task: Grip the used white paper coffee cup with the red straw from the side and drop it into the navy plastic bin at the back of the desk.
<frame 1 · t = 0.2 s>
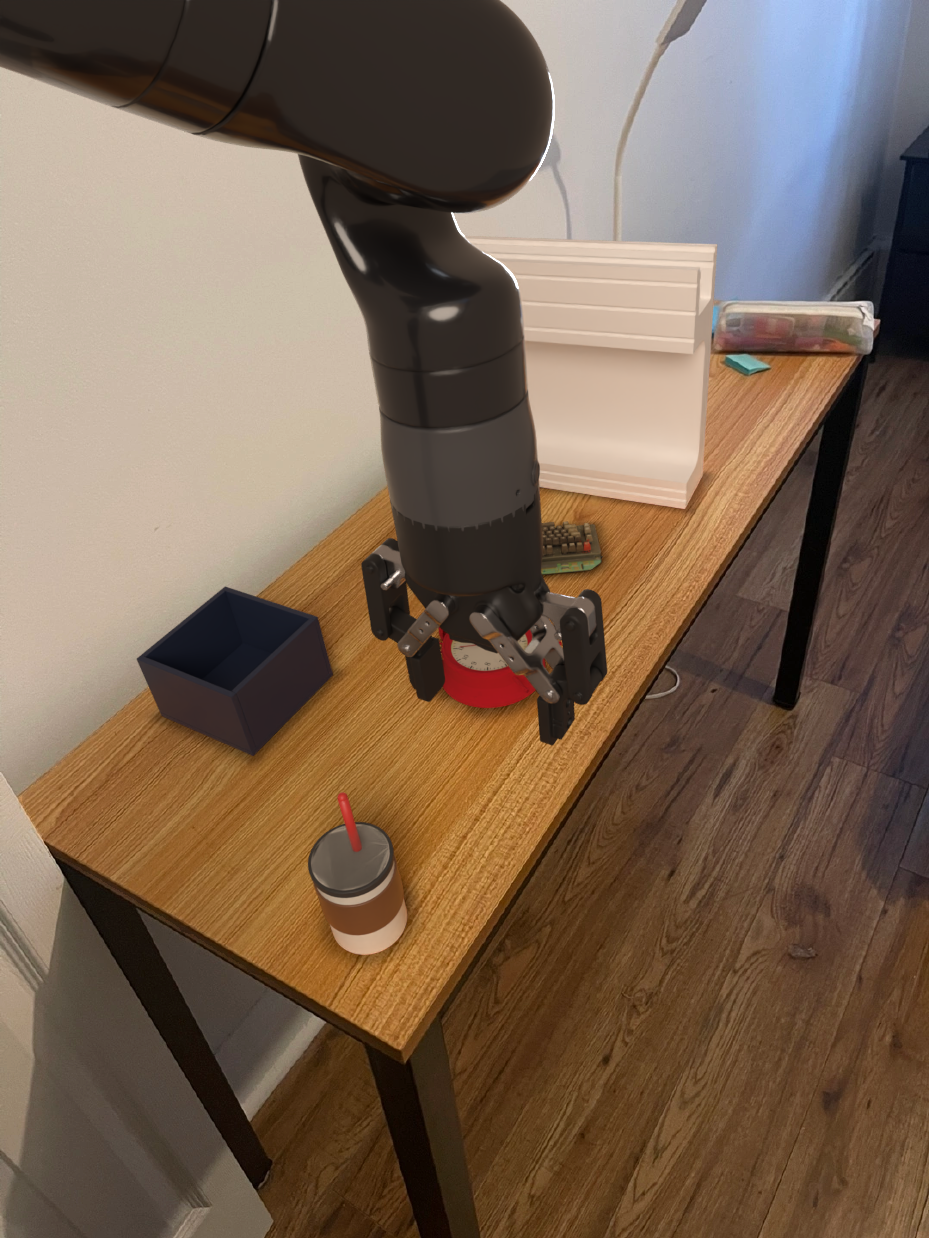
hand: (491, 712, 55), 21 cm above the table, tool pointing down, fingers open, 8 cm apart
paper cup: (369, 920, 69), on the table
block: (559, 474, 118), on the table
bin: (248, 695, 91), on the table
keyboard: (505, 557, 105), on the table
alarm clock: (477, 670, 90), on the table
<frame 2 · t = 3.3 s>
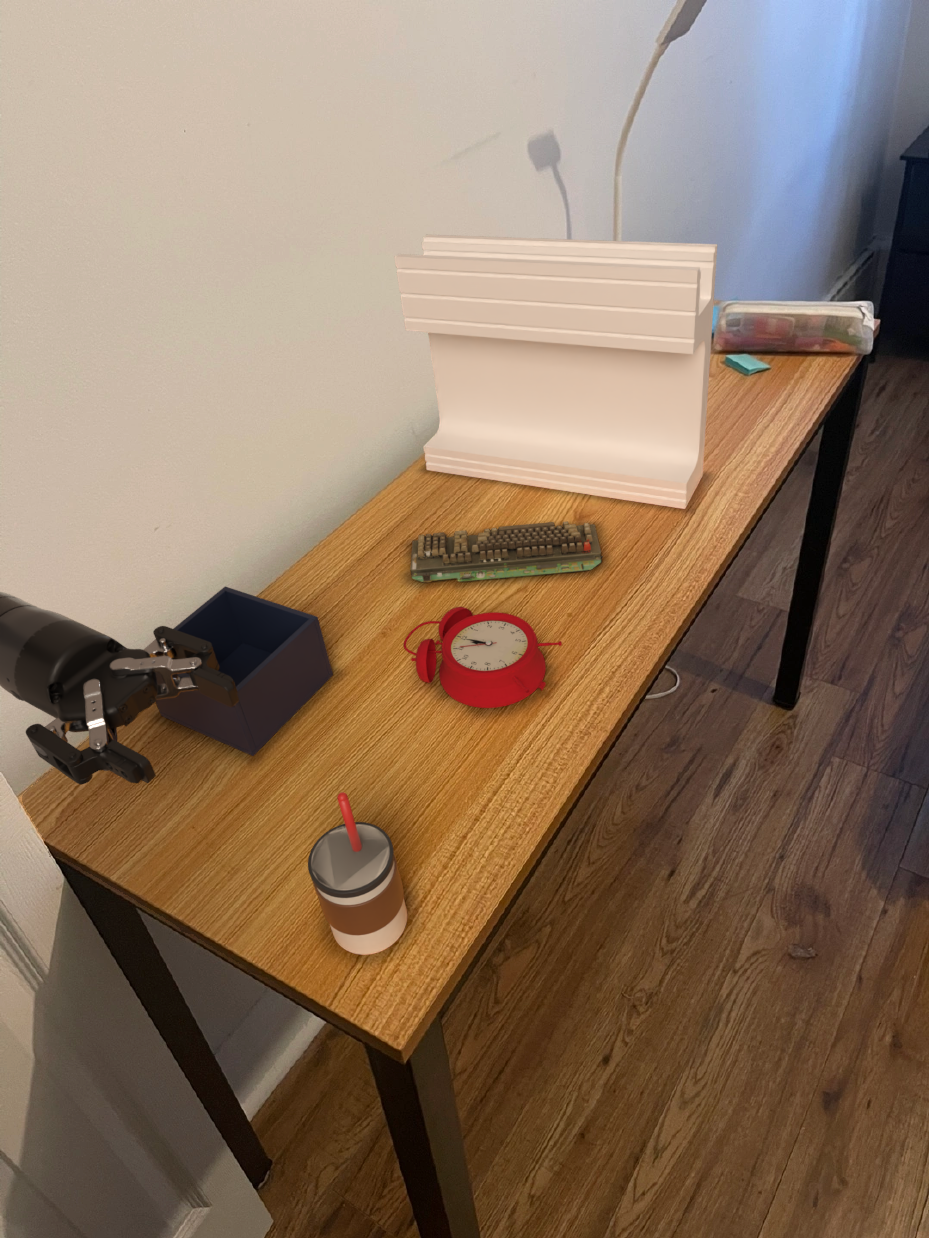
hand: (193, 732, 67), 14 cm above the table, tool horizontal, fingers open, 8 cm apart
nothing on the table moved.
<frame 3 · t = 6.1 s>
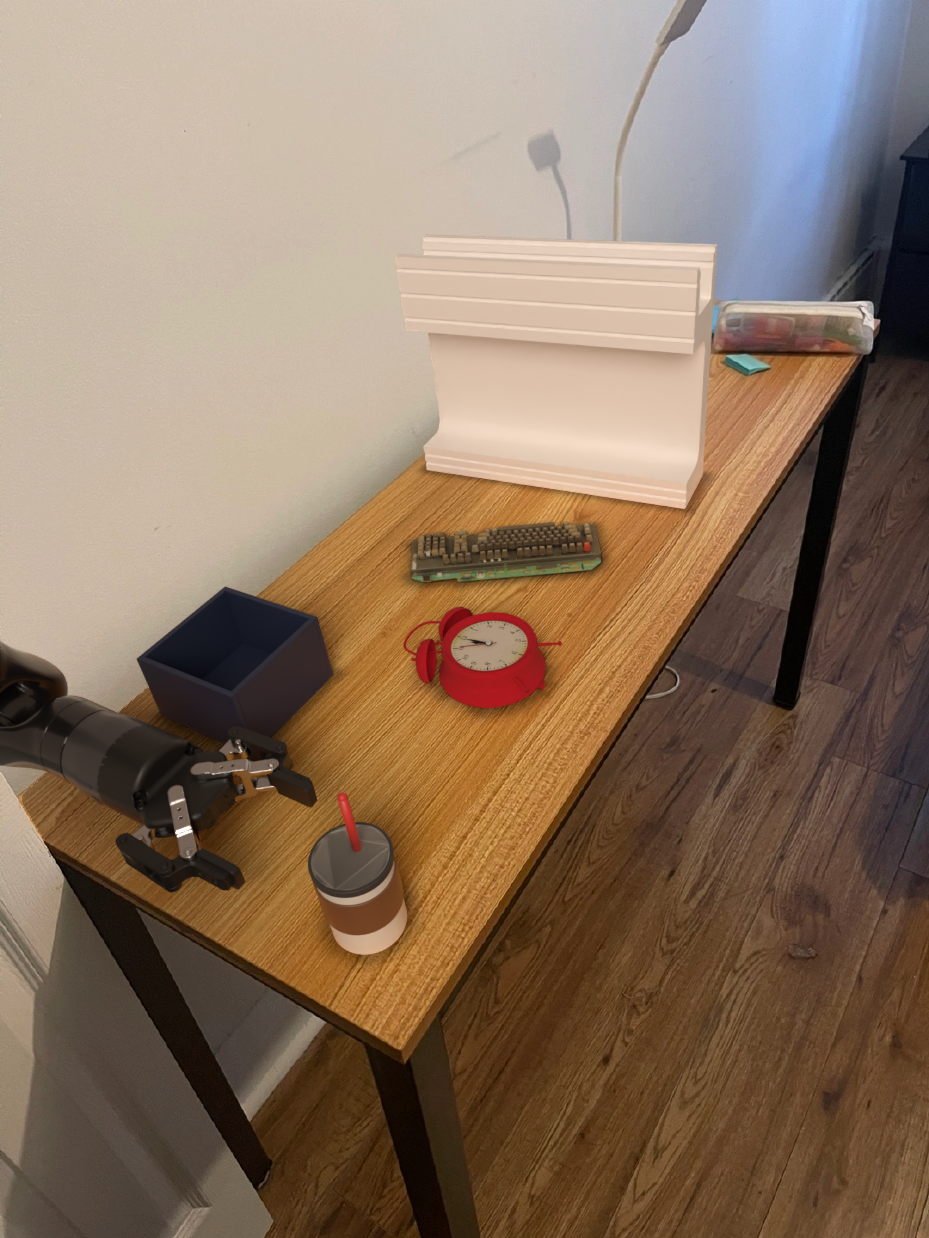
hand: (278, 836, 69), 6 cm above the table, tool horizontal, fingers open, 8 cm apart
nothing on the table moved.
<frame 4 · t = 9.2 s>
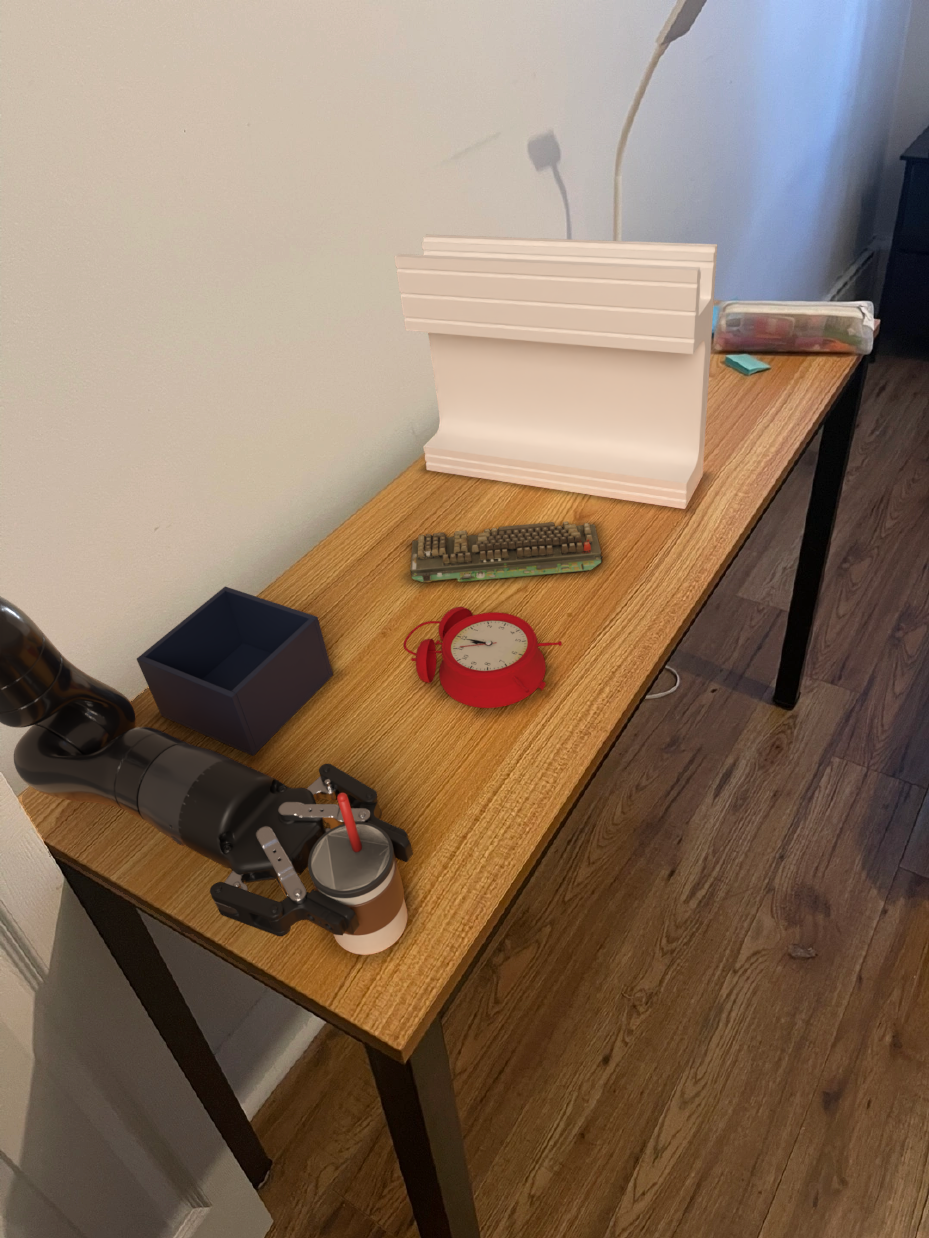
hand: (382, 885, 65), 6 cm above the table, tool horizontal, fingers closed on paper cup, 6 cm apart
paper cup: (370, 920, 69), on the table, touching gripper
everything else where it was.
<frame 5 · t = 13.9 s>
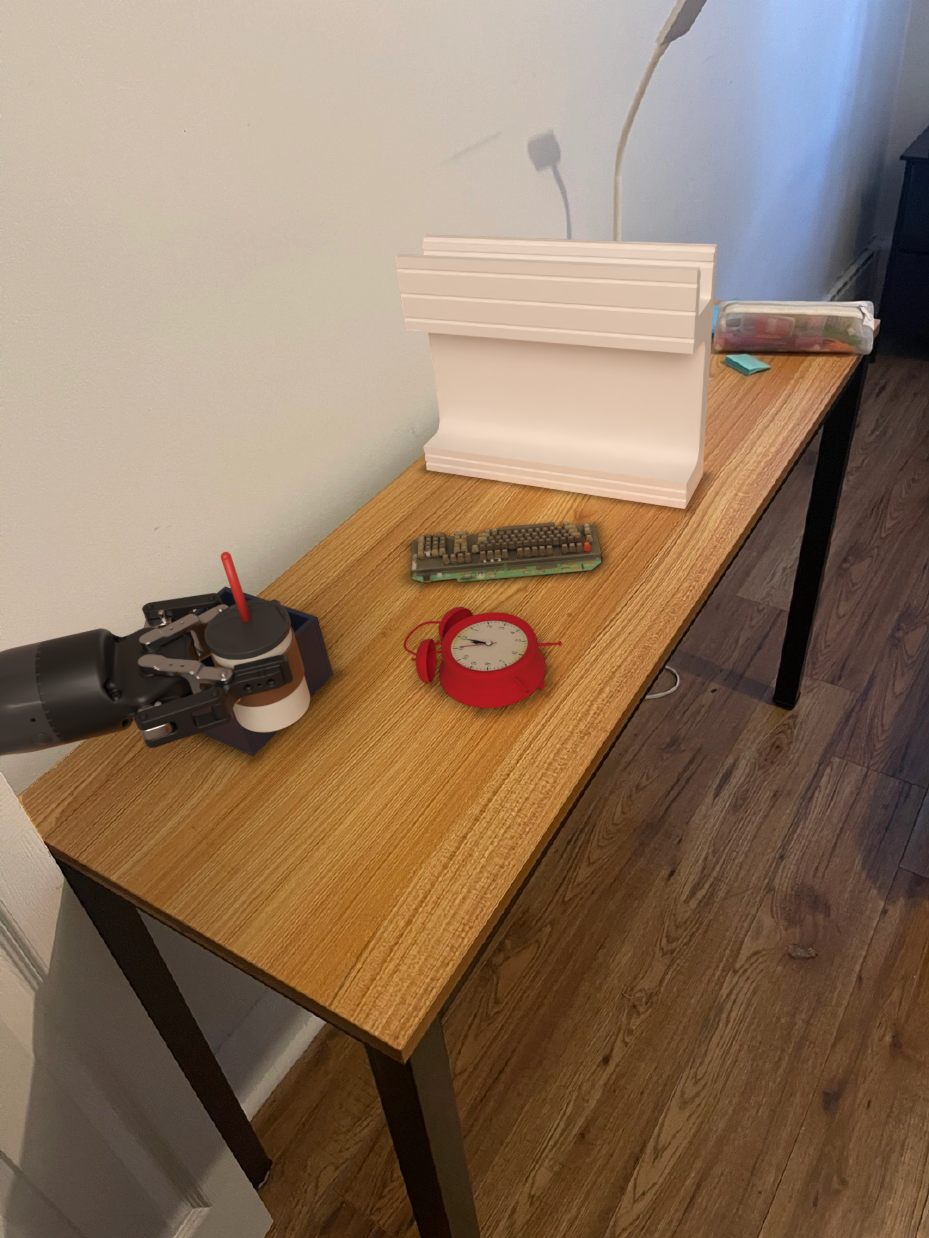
hand: (285, 639, 67), 19 cm above the table, tool horizontal, fingers closed on paper cup, 6 cm apart
paper cup: (273, 705, 70), point 13 cm above the table, touching gripper
everything else where it was.
when the fingers open (13 cm above the table, at t = 18.8 s): paper cup drops 6 cm, resting on bin.
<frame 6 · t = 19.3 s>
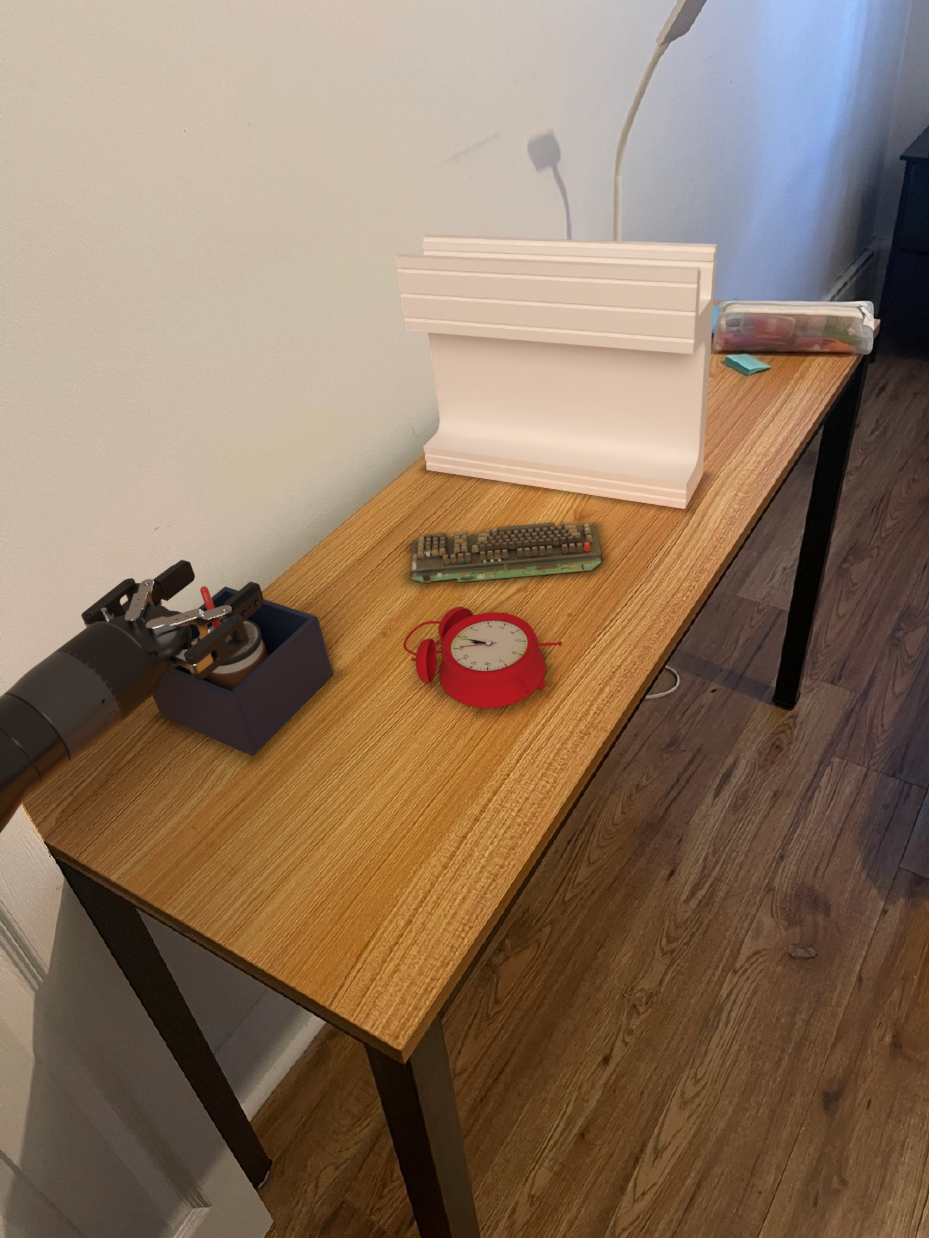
hand: (223, 579, 82), 14 cm above the table, tool horizontal, fingers open, 8 cm apart
paper cup: (249, 701, 89), point 1 cm above the table, touching bin
everything else where it was.
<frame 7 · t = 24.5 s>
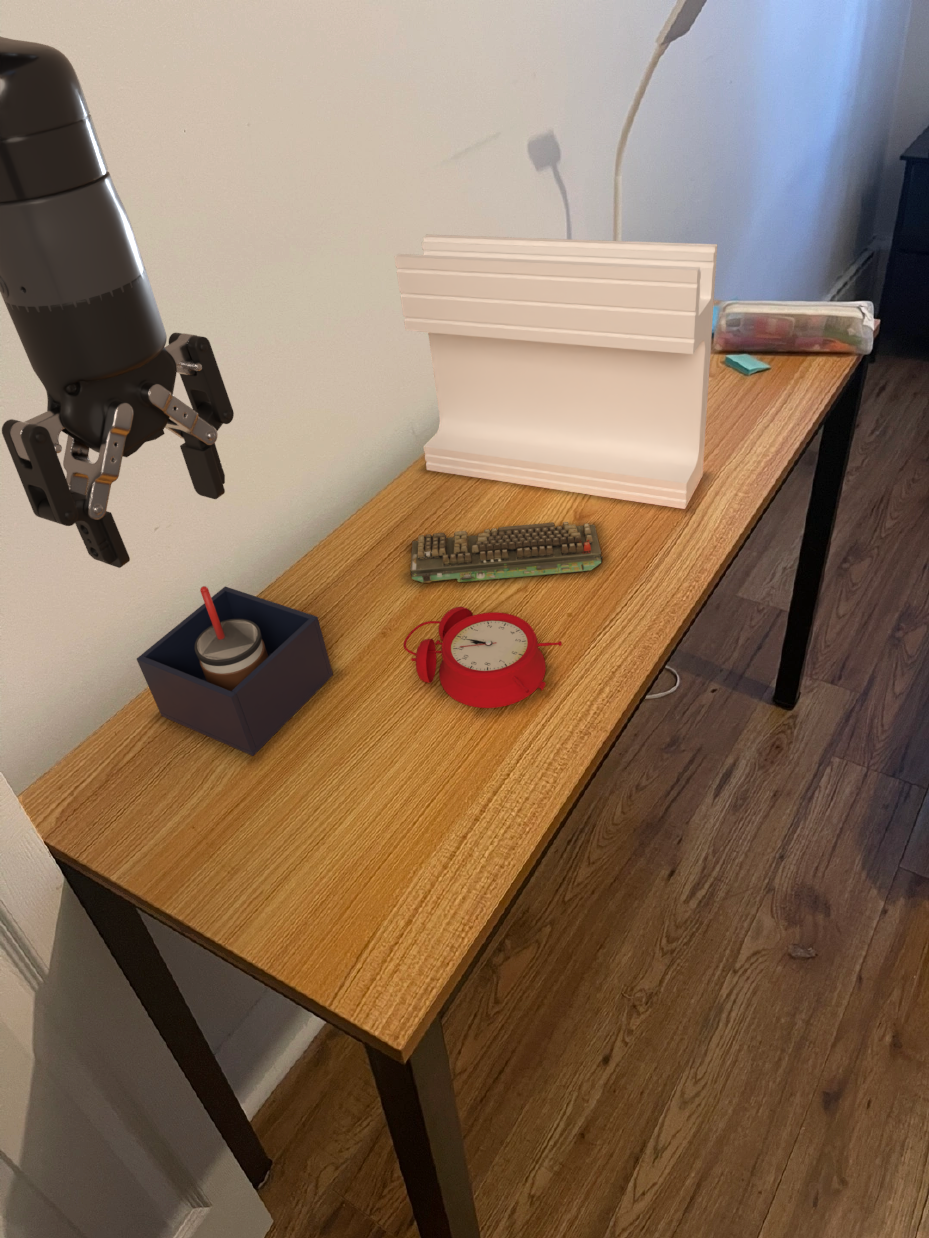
hand: (165, 526, 59), 30 cm above the table, tool pointing down, fingers open, 8 cm apart
nothing on the table moved.
at the end: paper cup inside the target area in the bin (1.6 cm from its centre), point 0.6 cm above the bin's base; the gripper is holding nothing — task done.
